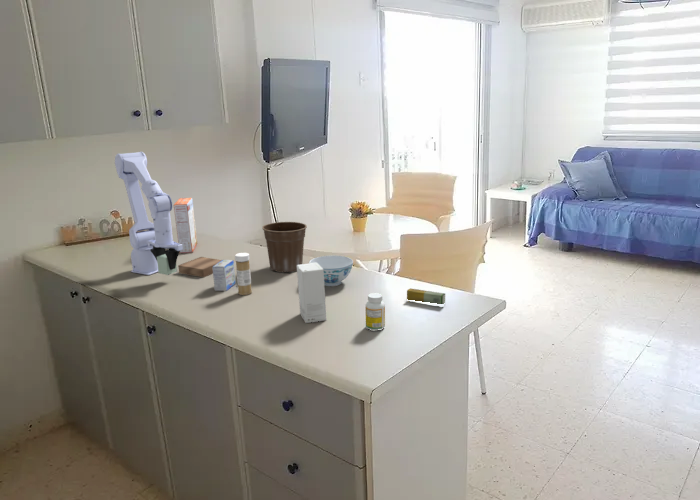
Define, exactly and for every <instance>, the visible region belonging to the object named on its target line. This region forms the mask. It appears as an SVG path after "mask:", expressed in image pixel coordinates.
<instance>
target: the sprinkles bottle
mask: <svg viewBox="0 0 700 500" xmlns="http://www.w3.org/2000/svg"><path fill="white" fill-rule="evenodd" d="M234 260H235V261H234V262H235V268H236V269H235V270H236V279H237V288H238V289H237V290H238V291H237V293H238V294H239V295H241V296H248V295H251V294H252V293H253V292H252V278H251V268H250V253H248V252H238V253H236V254H235V255H234Z"/></svg>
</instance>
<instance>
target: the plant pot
mask: <svg viewBox="0 0 700 500" xmlns="http://www.w3.org/2000/svg"><path fill="white" fill-rule="evenodd" d="M262 230H263V233H264V239H265V242H266V249H267V255H268V261H269V262H268V263H269V269H270V270H271V271H273V272H275V271H276V272H277V273H291V272H297V265H300V264H304V263H303V260H304V257H303V256H304V245H305V244H304V243H305V237H306V230H307V224H305V223H303V222H297V221H279V222H272V223H266V224H264V225H263V226H262Z"/></svg>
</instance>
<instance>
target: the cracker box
mask: <svg viewBox="0 0 700 500" xmlns="http://www.w3.org/2000/svg"><path fill="white" fill-rule="evenodd" d="M173 211H174V218H175V219H174V222H175V229H176V236H177V243H179V244H182V247H183V250H180V252H179V254H187V253H188V254H189V253H190V254H191V253H194V250H195V249H196V247H197V244H198V238H197V229H196V228H197V227H196V219H195V211H194V200H193V197H180V198H178V199H177V201H176V202H174V204H173Z"/></svg>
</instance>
